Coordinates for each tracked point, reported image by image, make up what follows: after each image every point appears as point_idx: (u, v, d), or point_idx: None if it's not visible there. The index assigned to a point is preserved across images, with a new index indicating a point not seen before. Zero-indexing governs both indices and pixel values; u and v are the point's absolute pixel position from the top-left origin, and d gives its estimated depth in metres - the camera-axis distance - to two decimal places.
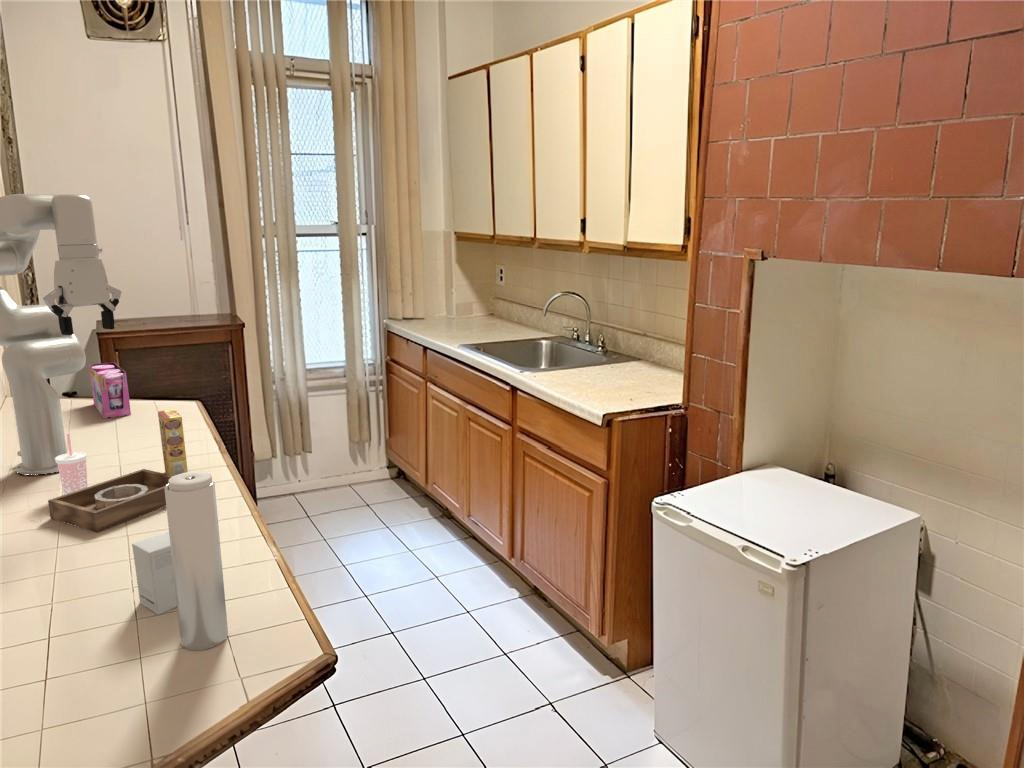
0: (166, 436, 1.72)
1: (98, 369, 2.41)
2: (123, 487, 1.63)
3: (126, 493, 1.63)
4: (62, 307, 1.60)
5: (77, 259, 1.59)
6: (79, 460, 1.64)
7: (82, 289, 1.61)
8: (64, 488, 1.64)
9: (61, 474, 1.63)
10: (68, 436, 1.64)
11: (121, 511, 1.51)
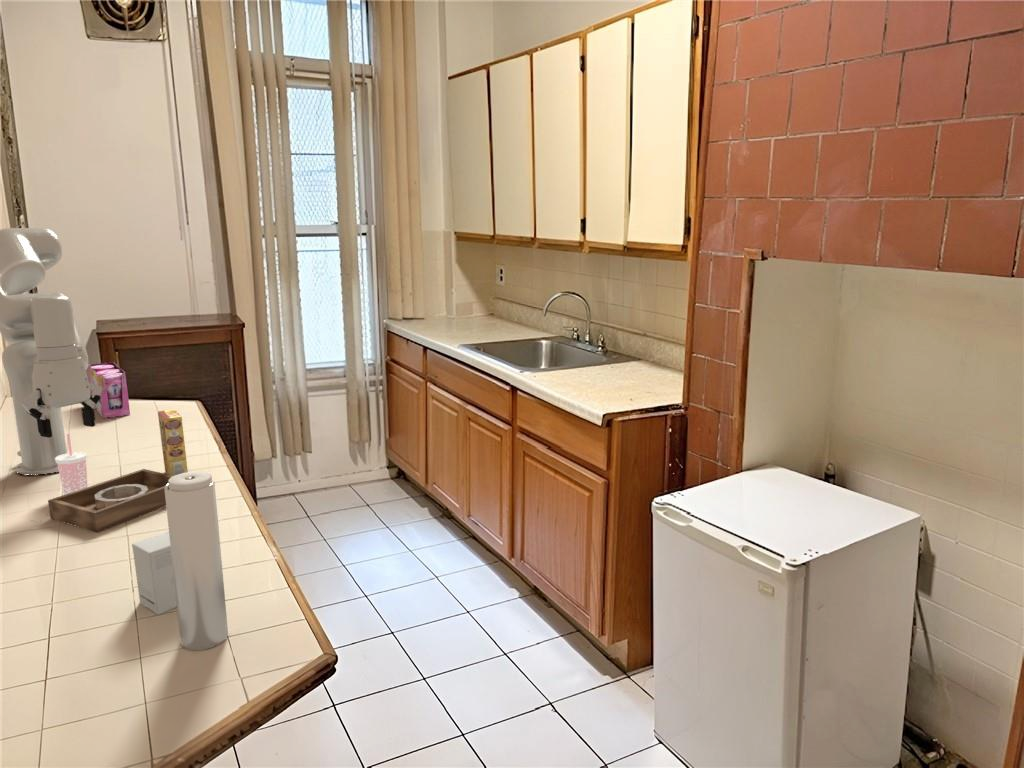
0: (166, 436, 1.72)
1: (97, 369, 2.41)
2: (123, 487, 1.63)
3: (126, 493, 1.63)
4: (41, 409, 1.58)
5: (55, 361, 1.57)
6: (79, 460, 1.64)
7: (61, 390, 1.59)
8: (64, 488, 1.64)
9: (61, 474, 1.63)
10: (68, 436, 1.64)
11: (121, 511, 1.51)
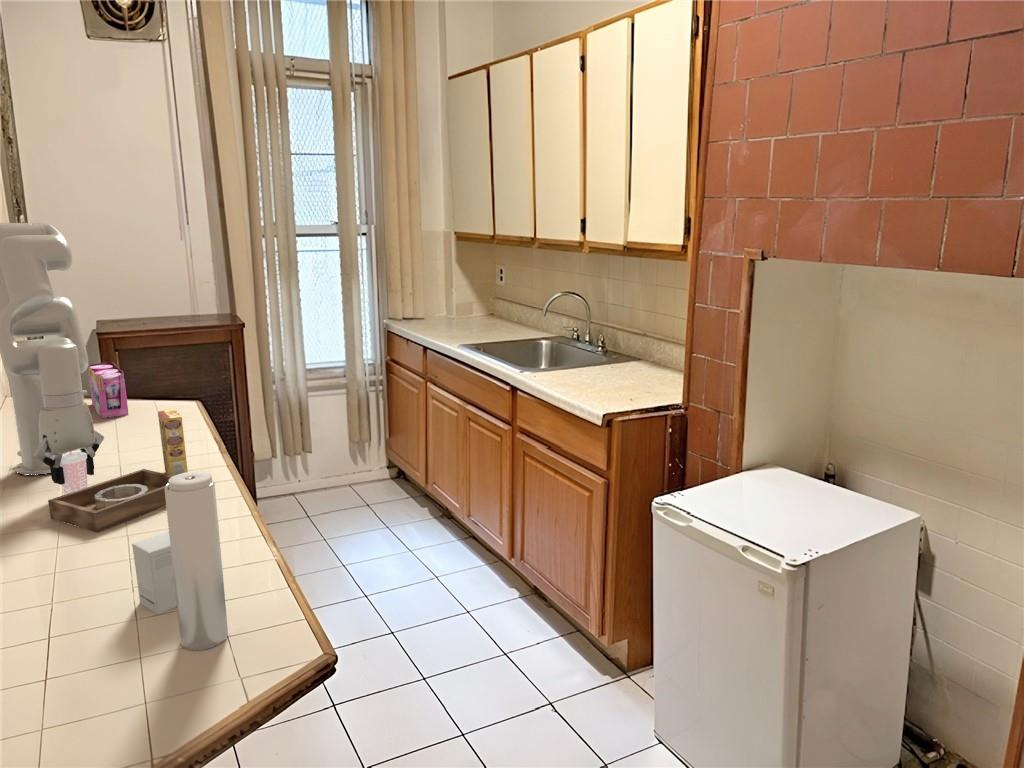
0: (166, 436, 1.72)
1: (96, 369, 2.41)
2: (123, 487, 1.63)
3: (126, 493, 1.63)
4: (52, 456, 1.62)
5: (62, 409, 1.59)
6: (79, 460, 1.64)
7: (67, 436, 1.61)
8: (64, 488, 1.64)
9: None
10: None
11: (121, 511, 1.51)
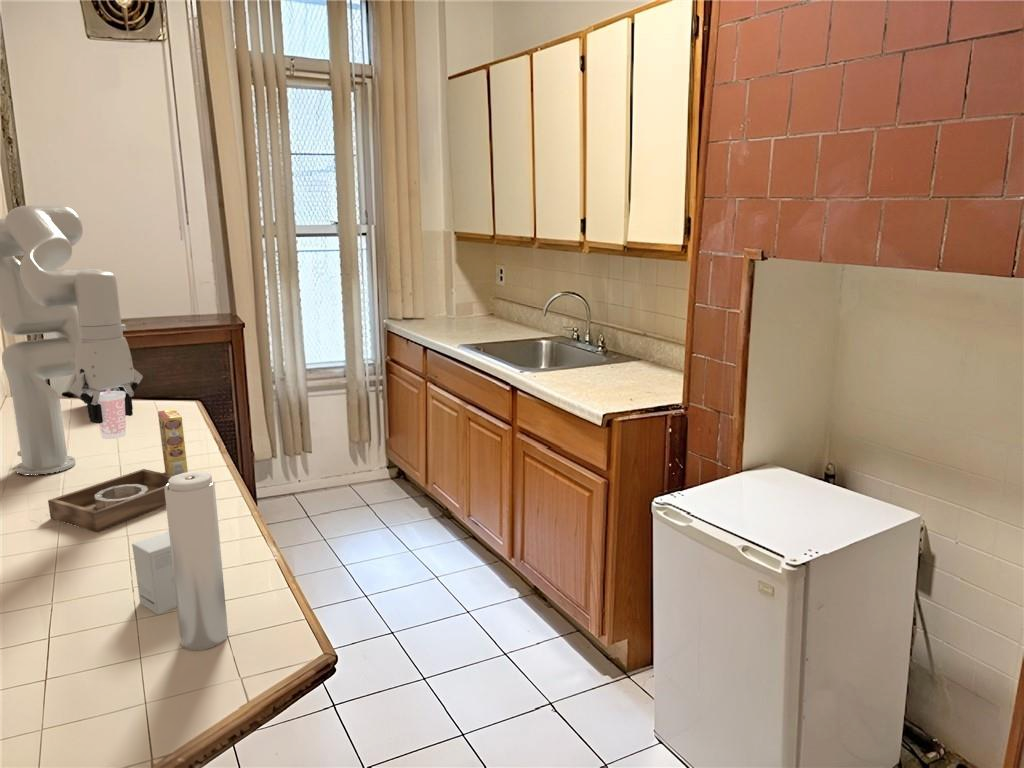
0: (166, 436, 1.72)
1: None
2: (123, 487, 1.63)
3: (126, 493, 1.63)
4: (89, 393, 1.52)
5: (100, 341, 1.49)
6: (118, 398, 1.53)
7: (105, 371, 1.51)
8: (102, 428, 1.54)
9: None
10: None
11: (121, 511, 1.51)
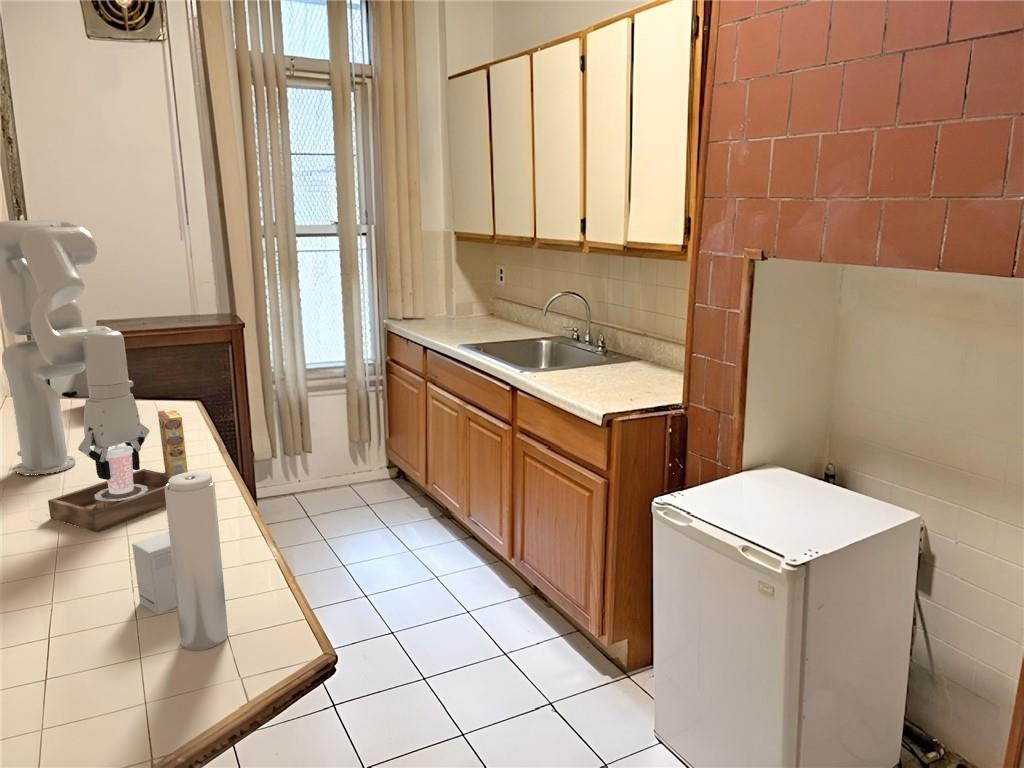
0: (166, 436, 1.72)
1: None
2: None
3: (126, 493, 1.63)
4: (97, 450, 1.54)
5: (108, 400, 1.51)
6: (125, 454, 1.56)
7: (113, 429, 1.53)
8: (110, 483, 1.56)
9: None
10: None
11: (121, 511, 1.51)
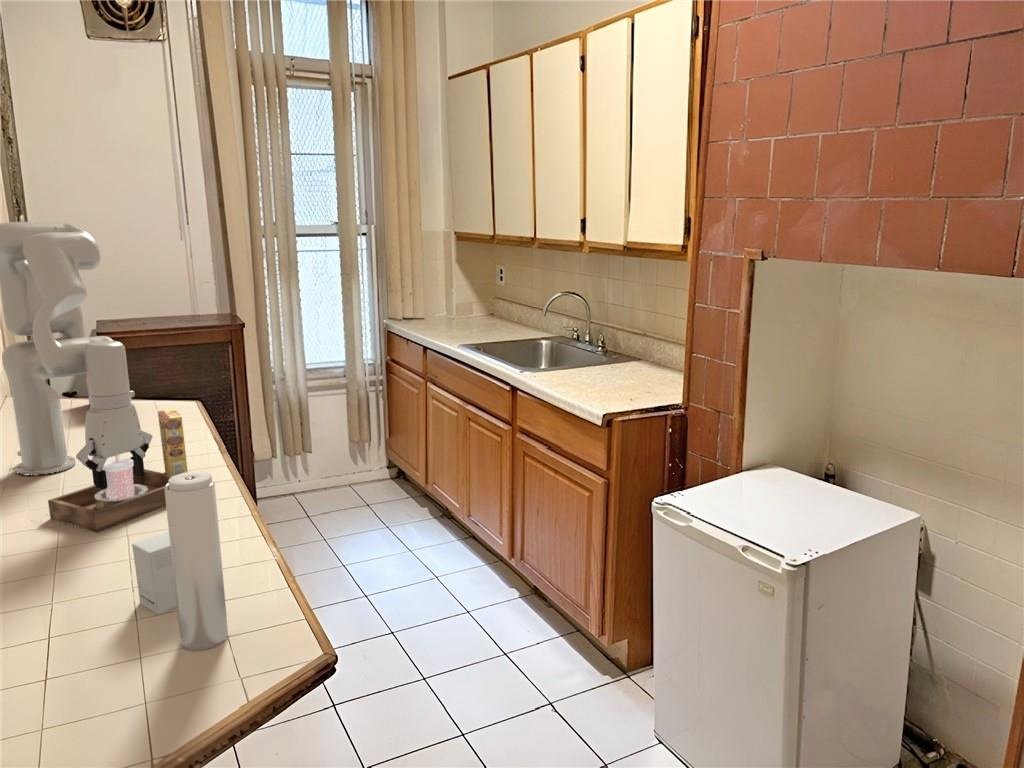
0: (166, 436, 1.72)
1: None
2: None
3: None
4: (95, 459, 1.54)
5: (109, 410, 1.52)
6: (126, 468, 1.56)
7: (114, 439, 1.54)
8: (111, 496, 1.57)
9: (107, 482, 1.56)
10: None
11: (121, 511, 1.51)
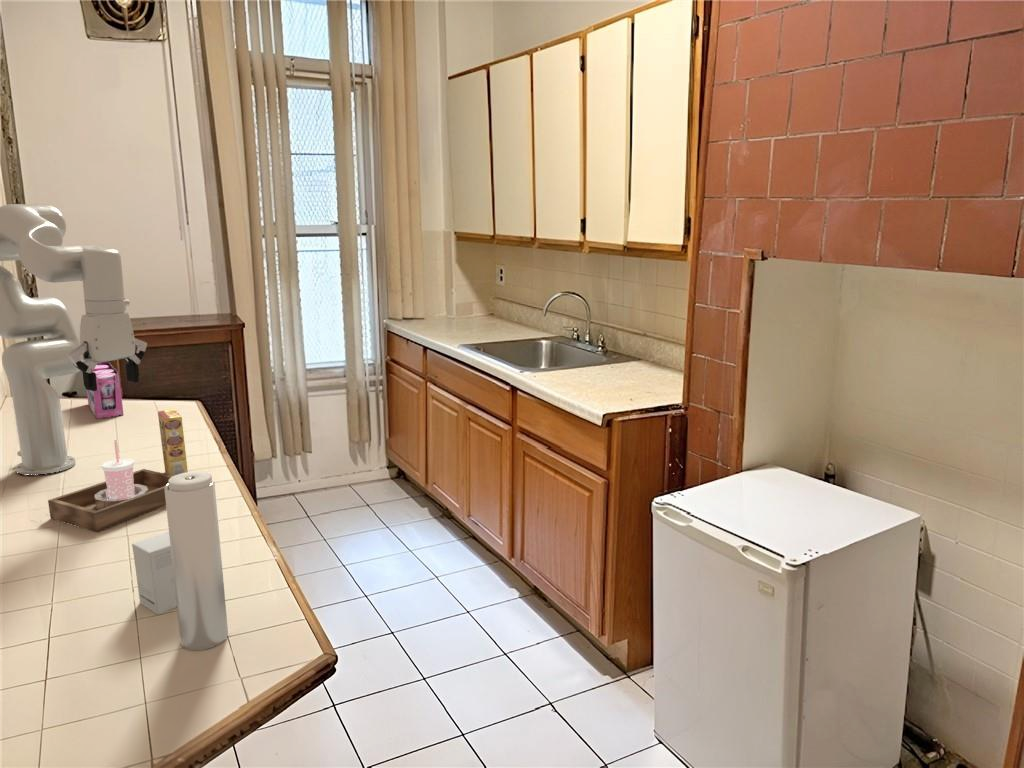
0: (166, 436, 1.72)
1: None
2: None
3: None
4: (87, 362, 1.58)
5: (103, 315, 1.56)
6: (127, 467, 1.56)
7: (107, 344, 1.58)
8: (111, 496, 1.57)
9: (108, 482, 1.56)
10: (115, 442, 1.57)
11: (121, 511, 1.51)
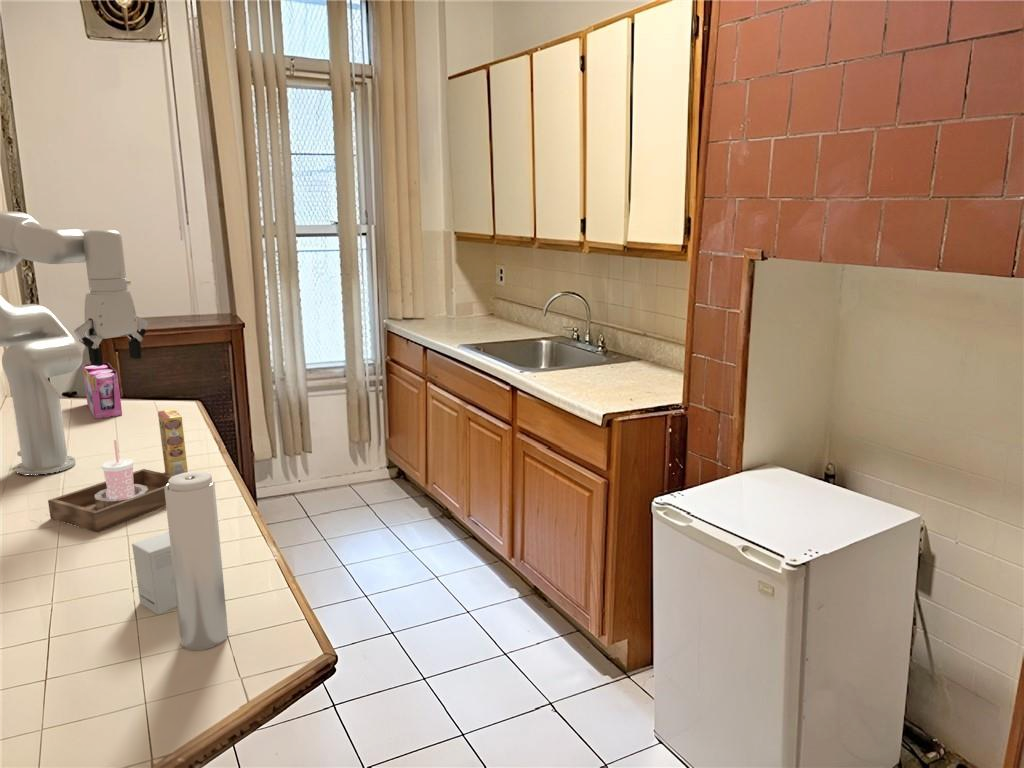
0: (166, 436, 1.72)
1: (91, 369, 2.40)
2: None
3: None
4: (92, 339, 1.65)
5: (107, 293, 1.63)
6: (126, 467, 1.56)
7: (111, 321, 1.66)
8: (111, 496, 1.57)
9: (108, 482, 1.56)
10: (115, 442, 1.57)
11: (121, 511, 1.51)
